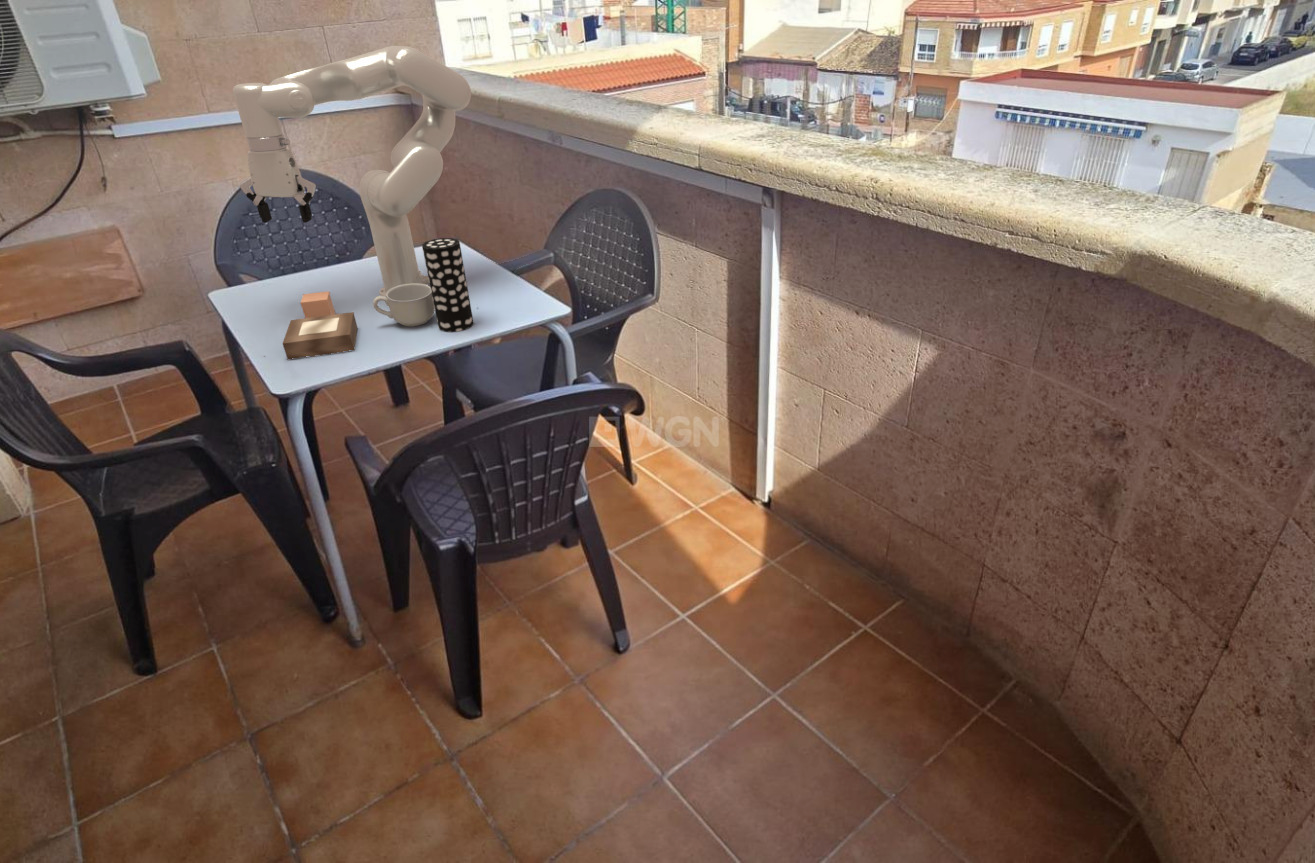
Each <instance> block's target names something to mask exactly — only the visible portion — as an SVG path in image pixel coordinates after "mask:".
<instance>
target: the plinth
mask: <svg viewBox="0 0 1315 863" xmlns="http://www.w3.org/2000/svg"><path fill="white" fill-rule="evenodd" d="M357 327H358V324H357V320H356V316H355V313H354V311H353V312H345V313H335V315H327V316H319V317H311V318H305V317H304V318H298V319H297V318H296V319H290V321H289V324H288V326H287V329H286V333H285V335H284V339H283V340H282V346H283V349H284V352H285V355H286V356H285V357H286V358H287V360H288V359H291V360H293V359H292V358H299V357H306V356H313V357H316V356H315V355H320V356H324V355H323V354H327V355H332V354H331V353H334V354H338V353H337V352H341V353H344V352H343V351H348V352H350V351H349V350H354V351H355V349H354V347H355V348H356V342H355V341H357V335H356V334H358V328H357ZM306 358H307V357H306ZM299 359H300V358H299Z"/></svg>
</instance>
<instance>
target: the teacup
mask: <svg viewBox="0 0 1315 863" xmlns="http://www.w3.org/2000/svg"><path fill="white" fill-rule="evenodd" d="M380 301H382V302H384V303H385V304H386V306H387V307H388V309H389V311H388V310H385V309H382V308H380V307H379V306H378V302H380ZM372 307H373V309H374V310H375V311H376V312H377V313H379V314H381V315H384V316H387V317H388V318H389V319H393V320H394V321H395V322H397V323H399V324H400V325H402V326H405V327H419V326H421V325H424V324H426V323H427V322H429V321H430V320H431V318H433V316H434V315H435V308H434V303H433V298H432V293H431V288H430V285H429V284H427V285H425V284H419V283H411V284H404V285H399V286H396V287H393V288H391V289H390V290H388V292H387V293H386V297H384V296H380V295H378V296H376V297H374V298H373V301H372Z"/></svg>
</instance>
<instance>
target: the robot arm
mask: <svg viewBox="0 0 1315 863" xmlns="http://www.w3.org/2000/svg"><path fill="white" fill-rule="evenodd" d="M404 86H405V87H408V88H410V89H412V90H414V91H415V92H416V93H419V94H420V95H421V97H422V103H423V108H422V112H421V115H420V117H418V118H419V119H418V120H417V121H416V122H415V123H414V124H413V126H412V127H411V128H410V129H409V130H408V131H407V132H406V134H405V135H404V136H403V137H402V138H401V139H400V140H399V141H398V142H397V143H396V145H395V146H394V147H393V148H392V150H391V153H390V163H391V165H392V168H393V169H392V170H391V171H390V172H389V171H387V170H384V169H372V170H369V171H368V172H366V173H365V174H364V175H363V176H362V177H361V179H360V182H359V196H360V199H361V203H362V205H363V209H364V211H365V214H366V217H367V220H368V224H369V226H370V227H369V228H370V232H371V236H372V240H373V241H372V242H373V245H374V248H375V253H376V257H377V262H378V265H379V271H380V275H381V278H382V283H383V287H381V288H380V289H379V296H384V297H386V293H387V292H388V290H390V289H391V288H393V287H396V286H399V285H404V284H411V283H419V284H425V285H430V283H429V278H428V275H424V274H422V272H421V270H419V266H418V261H417V256H416V251H415V247H414V242H413V237H412V233H411V226H410V221H409V219H408V215H407V214H408V213H410V212H411V211H412V210H413V209H414V208H415V207H416V206H417V205H418V204H419V203H420V202H421V201H422V200H423V198H424V197H425V196H426V195H427V194H428V192H430V191H431V189H432V188H433V187H434V186H435V184H436V183H437V182H438V181H439V179H440V177H441V176H442V172H443V169H444V160H443V157H442V154H441V153H442V151H443V149H444V148H445V146H447V144H448V143H449V141H450V140H451V139H452V137H453V135H454V132H455V129H456V112H458V111H462V110H464V109H465V108H466V107H468V105H469V103H470V101H471V98H472V89H471V86H470V83H469V82H468V81H467V79H466V77H464V76H463V75H461V74H460V73H459V72H457V71H455V70H454V69H451V68H450V67H448V66H446V65H445V64H443V63H441V62H439V61H438V60H436V59H435V58H432V57H431V56H430V55H427V54H426V53H424V52H423V51H420V50H419V49H417V48H415V47H412V46H407V45H406V46H405V45H390V46H385V47H383V48H379V49H376V50H372V51H369V52H366V53H363V54H359V55H355V56H352V57H349V58H346V59H342V60H337V61H334V62H330V63H328V64H324V65H321V66H316V67H312V68H308V69H304V70H302V71H301V70H300V71H297V72H294V73H290V74H288V75H284V76H281V77H278V78H274V79H273V80H272V81H271V82H270V83H269V84H266V83H263V82H246V83H239V84H237V85H234V86H233V90H232V91H233V93H232V94H233V98H234V100H235V103H236V107H237V111H238V115H239V117H240V121H241V125H242V128H243V132H244V137H245V139H246V142H247V146H248V149H249V150H248V151H247V162H248V165H247V166H248V171H249V176H250V178H249V179H247V180H246V181H245V182H243V183H241V184H240V186H239V187H240V189H241V190H242V192H243V193H244V194H245V196H246V197H247V199H249V200H250V201H251V202H252V203H253V205H254V206H256V208H257V211H258V214H259V215H258V216H259V218H260V219H261V223H264V224H266V223H268V222H271V220H272V219H273V218H272V214H271V211H270V207H269V204H268V202H265V201H266V200H267V198H294V199H295V201H297V202H298V203H299V204H300V205H299V206H298V209H299V212H300V217H301V220H302V223H308V222H310V221H312V217H313V215H312V214H313V213H312V209H311V205H310V203H311V200H313V198H314V197H315V192H316V188H317V185H316V183H315V182H312V181H309V180H308V179H305V178H304V177H302V173H301V171H300V169H299V165H298V162H297V160H296V158H295V156H294V153H293V152H292V150H291V148H287V146H290V145H291V141H290V139H289V138H285V136H284V134H283V130H282V126H281V123H280V118H286V119H287V118H289V119H290V118H291V119H300V118H305V117H307V116H309V115H310V114H311V113H312V112H313V110H314V109H315V106H317V105H320V104H321V105H322V104H324V103H329V102H339V101H340V102H343V101H346V102H347V101H356V100H357V101H358V100H362V99H365V98H369V97H372V96H374V95H376V94H380V93H382V92H383V93H384V92H386V91H390V90H394V89H396V88H399V87H404ZM251 187H252V188H253V190H252V189H251ZM305 188H306V190H307V191H306V190H305ZM305 191H306V193H305Z"/></svg>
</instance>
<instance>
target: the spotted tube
mask: <svg viewBox="0 0 1315 863" xmlns="http://www.w3.org/2000/svg"><path fill="white" fill-rule="evenodd" d="M421 246H422V251H423V252H422V253H423V257H424V262H425V266H426V273H427V276H428V278H429V283H430V284H429V286H430V288H431V293H432V298H433V303H434V308H435V311H434V314H435V316H436V321H437V327H438V329H439V330H440V331H442V332H448V333H455V332H461V331H465V330H468V329H469V328H471V327H472V326H474V317H473V312H472V306H471V305H472V304H471V301H470V294H469V289H468V284H467V278H466V272H465V266H464V260H463V255H462V248H461V243H460V240H459V239H457V238H453V237H452V238H451V237H441V238H434V239H430V240H427V241H425V242H423V243H422V244H421Z"/></svg>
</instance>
